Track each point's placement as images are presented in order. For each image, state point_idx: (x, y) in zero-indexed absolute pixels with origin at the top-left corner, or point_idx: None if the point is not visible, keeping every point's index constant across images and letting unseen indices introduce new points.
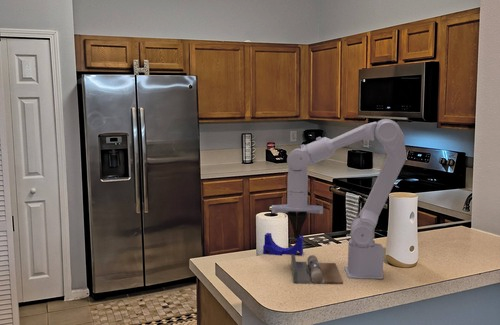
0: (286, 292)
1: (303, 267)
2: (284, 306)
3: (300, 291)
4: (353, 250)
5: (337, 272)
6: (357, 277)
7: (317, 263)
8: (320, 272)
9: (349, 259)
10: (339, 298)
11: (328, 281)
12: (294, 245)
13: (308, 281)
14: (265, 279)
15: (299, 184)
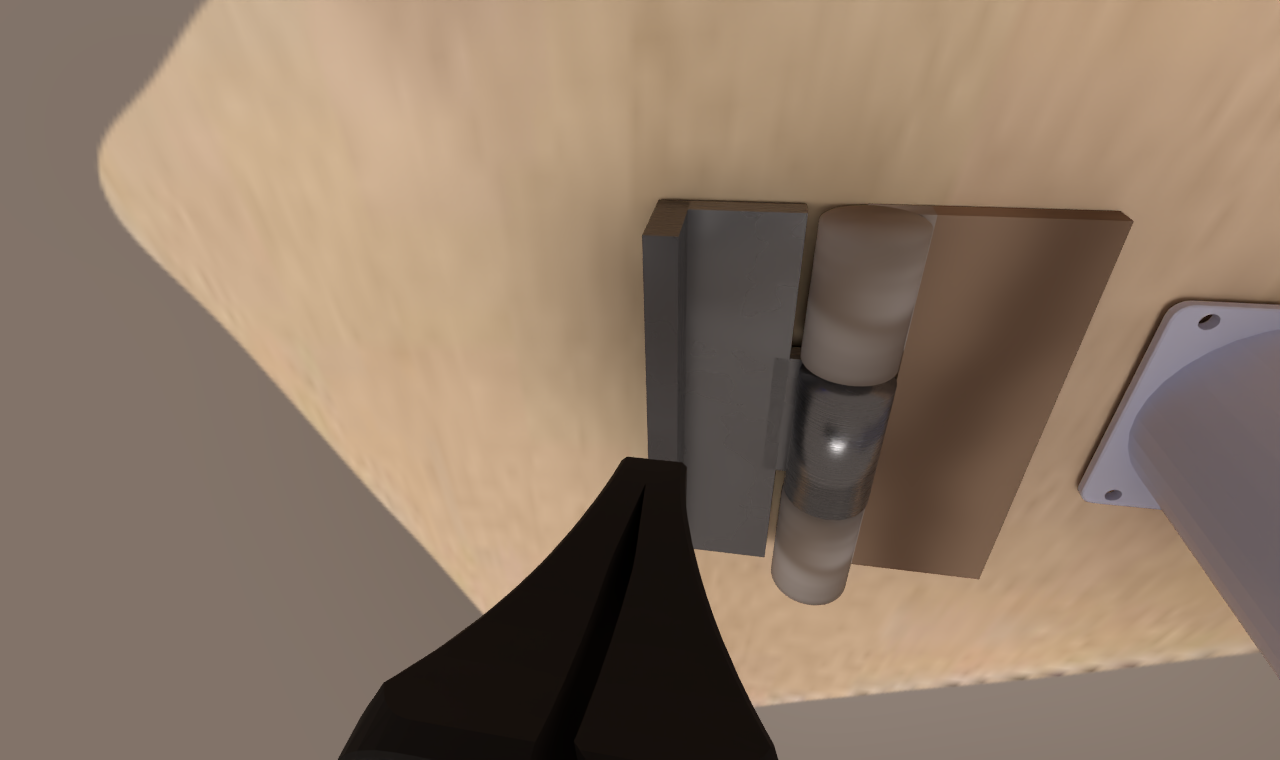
0: None
1: (754, 353)
2: None
3: None
4: (1267, 661)
5: (1022, 442)
6: (1150, 506)
7: (863, 458)
8: (840, 575)
9: (1191, 532)
10: (879, 673)
11: (881, 565)
12: None
13: (752, 550)
14: (496, 463)
15: None
